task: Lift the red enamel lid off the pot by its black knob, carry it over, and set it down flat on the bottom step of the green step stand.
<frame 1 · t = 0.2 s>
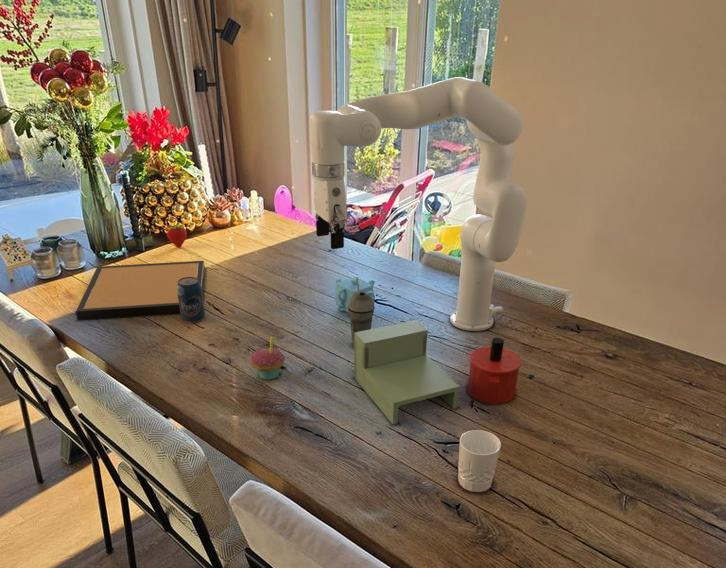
hand: (329, 241, 154), 31 cm above the table, tool pointing down, fingers open, 9 cm apart
cupcake: (268, 375, 161), on the table
cork board: (146, 292, 203), on the table
strawberry: (179, 248, 237), on the table
green step stand: (403, 392, 154), on the table
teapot: (356, 310, 193), on the table
beverage cup: (360, 345, 174), on the table
pot: (490, 390, 155), on the table
white cup: (474, 482, 127), on the table
soda can: (193, 318, 187), on the table
lid: (495, 361, 150), point 8 cm above the table, touching pot
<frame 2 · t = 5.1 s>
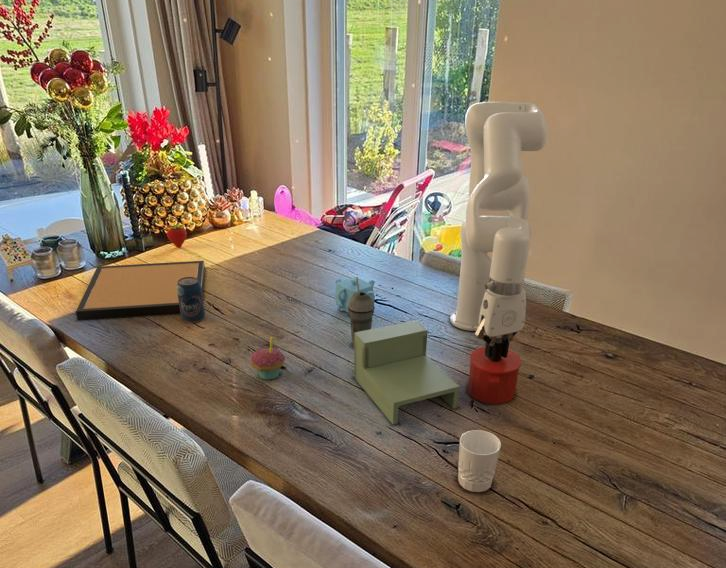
hand: (495, 356, 150), 10 cm above the table, tool pointing down, fingers closed on lid, 2 cm apart
lid: (495, 361, 150), point 9 cm above the table, touching gripper, pot
everything else where it was.
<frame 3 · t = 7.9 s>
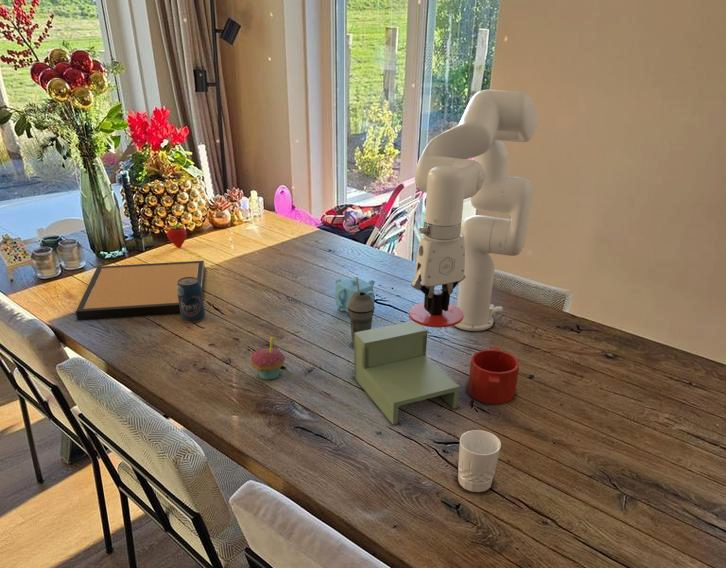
hand: (436, 309, 140), 23 cm above the table, tool pointing down, fingers closed on lid, 2 cm apart
lid: (435, 315, 141), point 22 cm above the table, touching gripper
everything else where it was.
when the fingers open (8 cm above the table, at t = 11.0 s): lid stays where it is, resting on green step stand.
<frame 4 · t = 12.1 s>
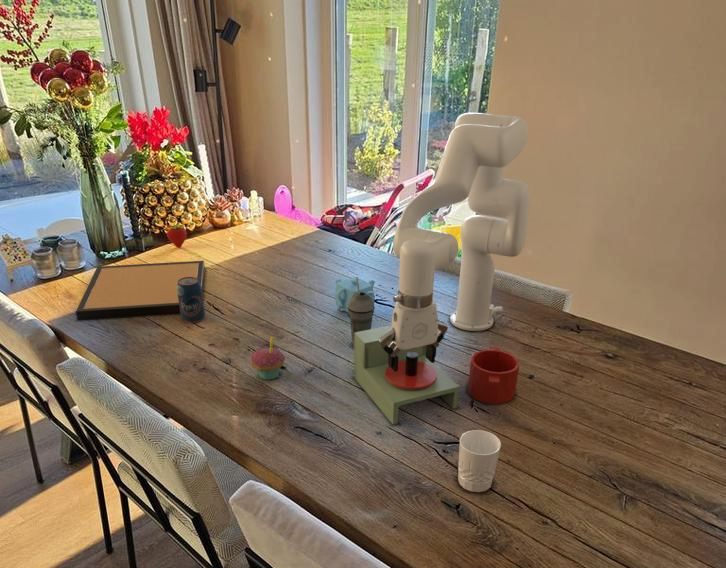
hand: (411, 364, 147), 9 cm above the table, tool pointing down, fingers open, 9 cm apart
lid: (411, 375, 148), point 7 cm above the table, touching green step stand
everything else where it was.
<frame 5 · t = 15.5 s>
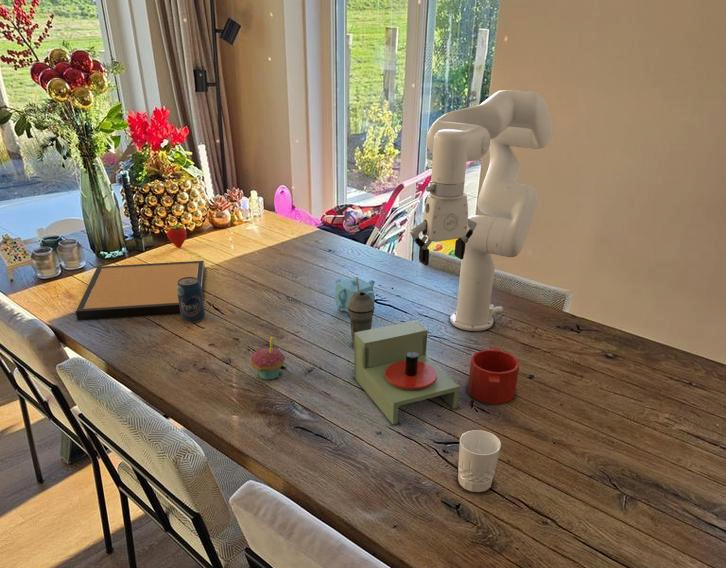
hand: (441, 260, 151), 28 cm above the table, tool pointing down, fingers open, 9 cm apart
nothing on the table moved.
at the end: lid inside the target area on the green step stand (0.1 cm from its centre), point 6.6 cm above the green step stand's base; lid tilted 0°; the gripper is holding nothing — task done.
